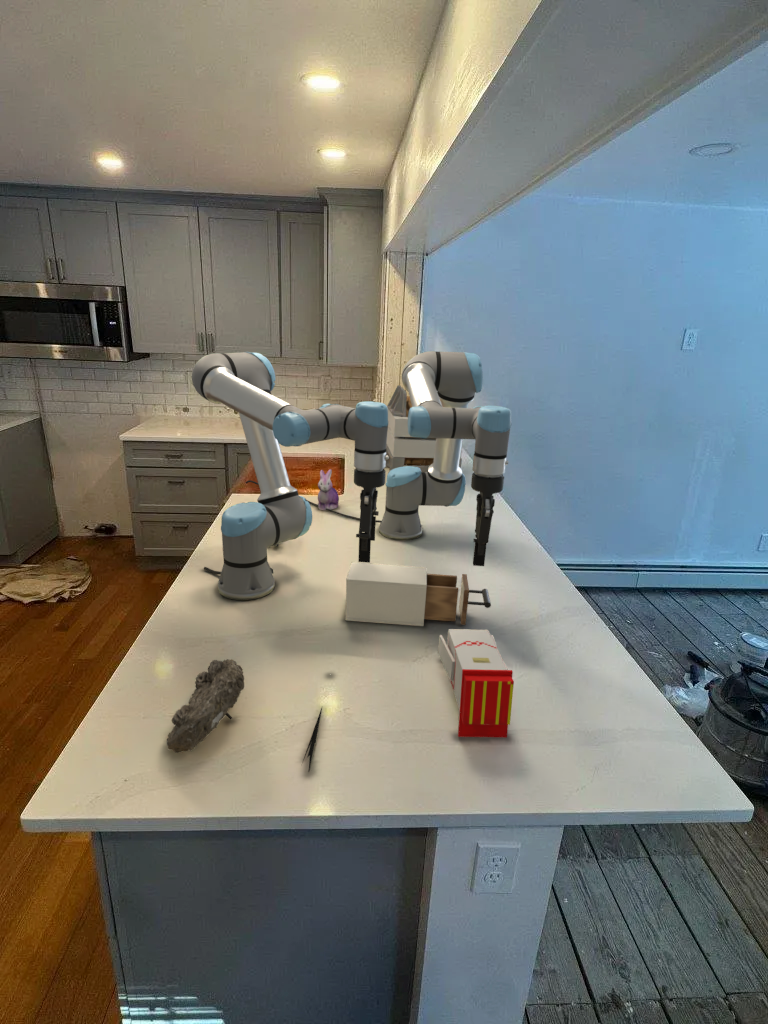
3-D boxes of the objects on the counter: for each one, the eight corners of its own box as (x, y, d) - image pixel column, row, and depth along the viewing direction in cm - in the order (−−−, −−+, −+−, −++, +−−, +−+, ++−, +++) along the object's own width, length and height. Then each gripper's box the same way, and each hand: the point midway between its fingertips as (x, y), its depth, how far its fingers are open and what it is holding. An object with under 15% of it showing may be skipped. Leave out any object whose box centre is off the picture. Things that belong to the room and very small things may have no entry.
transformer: (382, 463, 289) (386, 382, 275) (445, 464, 293) (451, 384, 279) (390, 482, 257) (394, 392, 243) (460, 483, 261) (468, 394, 247)
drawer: (485, 609, 150) (489, 575, 147) (488, 626, 142) (493, 591, 138) (393, 602, 151) (395, 569, 148) (391, 619, 143) (393, 584, 140)
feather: (331, 679, 122) (336, 673, 122) (307, 777, 96) (313, 769, 95) (324, 675, 122) (329, 669, 121) (298, 772, 95) (304, 764, 95)
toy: (488, 613, 130) (523, 677, 101) (484, 667, 133) (517, 744, 104) (435, 612, 130) (455, 676, 101) (432, 666, 133) (451, 743, 103)
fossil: (192, 660, 117) (244, 628, 112) (224, 691, 120) (276, 661, 115) (142, 746, 98) (202, 712, 93) (182, 779, 101) (242, 748, 96)
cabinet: (423, 606, 152) (426, 567, 148) (423, 626, 142) (426, 584, 138) (350, 601, 153) (351, 561, 149) (345, 620, 143) (346, 579, 139)
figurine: (321, 512, 217) (321, 474, 212) (311, 504, 225) (311, 467, 220) (344, 509, 221) (344, 472, 216) (333, 501, 229) (334, 465, 224)
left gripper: (381, 484, 123) (377, 573, 130) (389, 456, 146) (385, 532, 153) (347, 482, 123) (345, 570, 130) (360, 454, 147) (357, 530, 154)
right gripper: (508, 482, 127) (496, 577, 135) (501, 467, 139) (490, 555, 147) (474, 480, 127) (464, 575, 135) (470, 465, 139) (461, 553, 147)
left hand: (367, 550), depth 142 cm, fingers open, 13 cm apart
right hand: (478, 564), depth 141 cm, fingers closed
